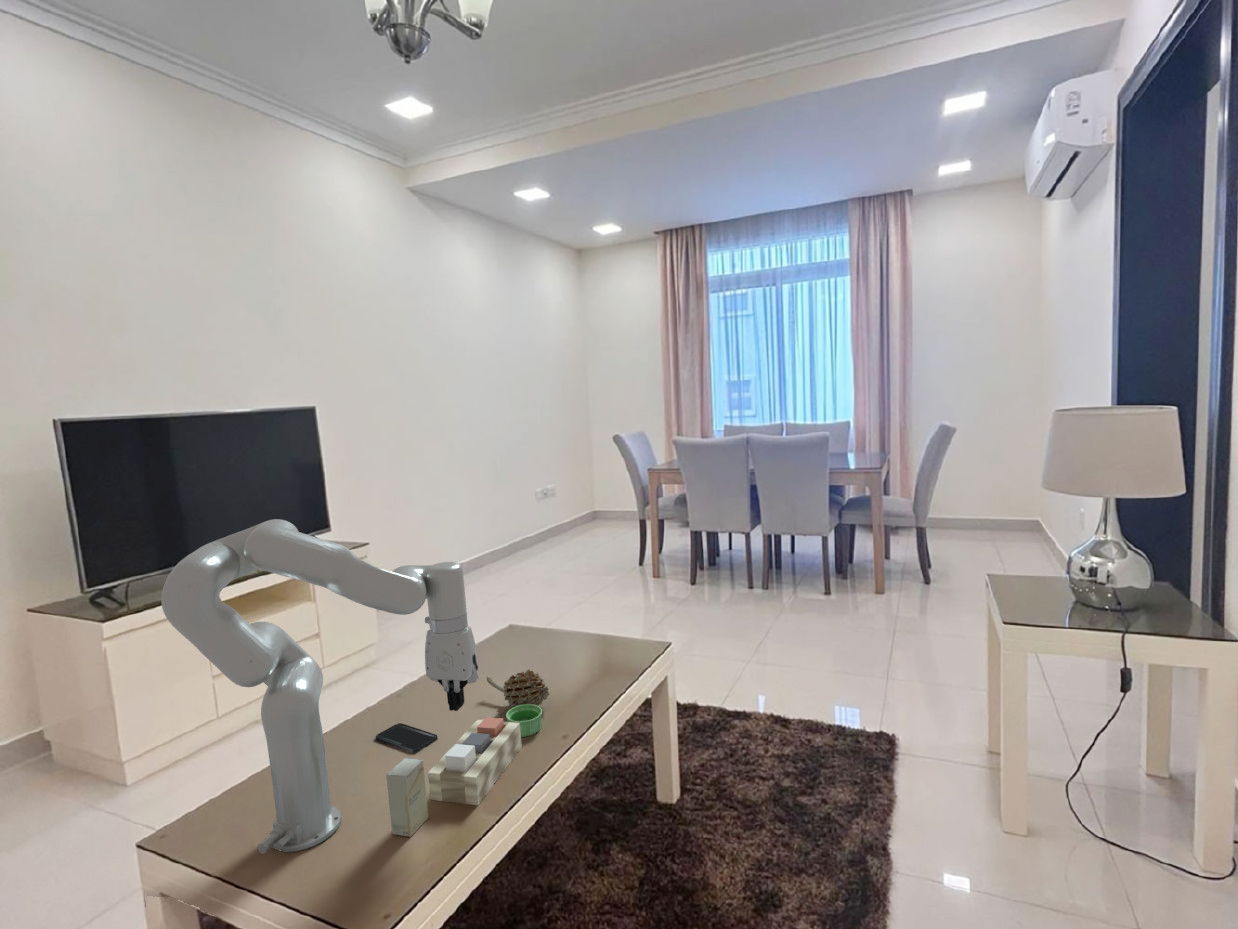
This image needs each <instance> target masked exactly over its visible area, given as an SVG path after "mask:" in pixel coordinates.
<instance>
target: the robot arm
mask: <svg viewBox="0 0 1238 929" xmlns="http://www.w3.org/2000/svg"><path fill="white" fill-rule="evenodd" d="M258 570H261V571H265V572H268V573H272V574H275V575H279V576H282V577H286V578H290V579H294V580H298V581H300V582H303V583H308V584H312V585H313V586H315V585H316V586H318V587H322V588H326V589H327V590H330V591H331V592H333V593H334V594H337V595H339V596H341V597H343V598H346V599H347V600H350V601H351V602H355V603H357V604H360V605H362V606H365V607H368V608H371V609H376V610H379V611H382V612H386V613H391V614H394V615H402V616H403V615H404V616H405V615H410V614H414V613H415V612H417V611H418V610H420V609H421V608H422V607H423V605H424V603H425V602H426V600H427V608H428V616H426V617H425V618H424V623H425V624H429V629H428V630H427V631H426V636H425V642H424V643H425V644H424V664H425V666H424V667H425V674H426V676H427V677H428V678H429V679H430V680H431V681H434V682H436V683H438V684H439V685H440V686H442V687H443V691H444V692H445V693H446V696H447V698H446V699H447V704H448V707H449V708H448V709H449V712H450V711H451V712H453V711H455V712H457V711H458V710H460V709H462V707H463V706H464V704H465V691H464V688H465V687H466V685H468V684H469V685H470V684H474V683H477V681H478V680H479V674H478V671H479V657H478V651H477V647H476V646H477V645H476V641H475V637H474V633H473V631H472V627H471V626H469V623H468V611H467V601H466V600H467V599H466V591H465V580H464V569H463V567H462V565H461V564H460V563H458V562H454V561H445V562H444V561H443V562H438V563H433V564H432V565H431V564H430V565H429V564H428V565H427V564H425V565H423V564H422V565H415V564H414V565H411V564H410V565H402V566H398V567H396V568H394V569H393V570H391V571H389V570H386V569H383V568H380V567H378V566H375V565H373V564H370V563H368V562H367V561H365V560H363V559H361V558H360V557H359V556H357V555H356V554H355V553H354V552H353V551H351V549H350V548H348V547H347V546H345V545H343V544H341V543H340V544H339V543H336V542H333V541H330V540H327V539H322V538H320V537H316V536H313V535H309V534H306V533H304V532H299V529H298V528H297V526H295V525H294V524H293V523H291V522H290V521H288V520H285V519H278V518H275V519H268V520H266V521H263V522H260V523H258V524H256V525H253V526H251V527H249V528H246V529H243V530H241V531H238V532H235V533H232V534H230V535H227V536H225V537H224V536H223V537H222V538H218V539H216V540H214V541H211V542H208V543H207V544H204V545H202V546H200V547H199V548H198V549H196V550H194V551H193V552H191V553H190V554H188V555H186V556H185V557H184V558H182V559H181V560H179V562H177V564H176V565H175V566H174V567H173V569H172V570H170V572H169V574H168V576H167V578H166V579H165V582H164V584H163V587H162V591H161V600H160V601H161V609H162V612H163V614H164V616H165V618H166V619H167V621H168V622H169V624H171V626H172V627H173V628H174V629H175V630H176V631H177V632H178V633H179V634H181V636H183V637H184V638H185V639H187V640H188V641H189V642H190V643H191V644H192V645H193V646H194V647H195V648H196V649H197V650H198V651H199V652H200V653H201V654H202V655H203V656H204V657H205V658H206V659H207V660H208V661H209V662H211V663H212V664H213V665H214V666H215V667H216V668H217V669H218V670H219V671H220V672H221V673H222V674H223V675H224V676H225V678H227V679H228V680H230V681H231V682H232V683H233V684H235V685H237V686H240V687H244V688H254V687H257V686H260V685H261V684H264V685H265V686H267V688H266V690H265V692H264V696H263V698H262V700H261V707H260V716H261V717H260V718H261V724H262V727H263V731H264V736H265V740H266V746H267V752H268V760H269V765H270V766H269V767H270V774H271V782H272V784H271V785H272V791H273V799H274V807H275V808H274V809H275V815H276V820H275V821H274V822H273V823H272V829H271V831H270V834H269V836H268V837H265V838H264V840H262V841H261V842H260V843H259V844H258V845H257V849H258V851H259V853H260V854H265V853H267V852H268V851H269V850H270V849H274V848H276V849H278V850H281V851H284V853H293V852H299V851H303V850H307V849H310V848H312V847H315V846H317V845H318V844H321V843H322V842H324V841H325V840H327V839H328V838H329V837H331V836H332V835H333V834H334V833H335V832H336V831H337V829H338V828H339V827H340V824H341V823H342V814H341V811H340V810H339V809H338V808H337V807H335V806H334V805H332V804H331V803H332V802H331V792H330V784H329V775H328V774H329V773H328V766H327V765H328V764H327V757H326V749H325V743H324V742H325V741H324V733H323V726H322V722H321V717H320V716H321V714H320V706H319V705H320V697H321V693H322V687H323V683H324V682H323V681H324V675H323V671H322V668H321V667H320V664H318V662H317V661H315V659H314V658H313V657H312V656H311V655H310V654H309V653H308V652H307V651H306V649H305V650H304V648H303V647H302V646H300V644H298V643H297V642H296V640H294V639H293V637H291V635H289V634H288V633H287V632H286V630H284V628H281V627H280V626H278V625H277V624H274V623H272V622H268V621H256V622H255V621H254V622H251V623H249V622H248V621H247V620H246V619H245V618H244V617H243V616H242V615H241V614H240V613H239V612H238V611H237V610H236V609H235V608H233V607H232V606H230V605H229V604H227V603H225V602H224V601H222V599H221V596H220V594H221V592H222V591H223V590H224V588H226V587H227V586H228V585H229V584H230V582H232V581H233V580H236V579H238V578H241V577H244V576H246V575H248V574H250V573H251V574H252V573H253V572H256V571H258ZM272 847H273V848H272ZM278 850H277V851H278ZM281 851H280V852H281Z"/></svg>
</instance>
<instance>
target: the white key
mask: <svg viewBox="0 0 1238 929" xmlns="http://www.w3.org/2000/svg"><path fill="white" fill-rule="evenodd" d="M454 744H455V743H454ZM454 744H453V745H454ZM453 745H452V746H453ZM452 746H451V747H452ZM448 751H449V750H448ZM448 751H447V752H448ZM447 752H446V753H447ZM446 753H445V754H446ZM445 754H444V755H445ZM445 761H446V771H455V772H464V773H467V772H468V771H469V769H470V768H471V767H472V766H473V765H474V763H475V762H476V754H475V746H473V745H462V744H455V745H454V746H453V747H452V749H451V750H450V751H449V752H448V753H447V754H446V755H445Z"/></svg>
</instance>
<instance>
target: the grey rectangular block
mask: <svg viewBox="0 0 1238 929" xmlns="http://www.w3.org/2000/svg"><path fill="white" fill-rule="evenodd" d="M490 744H491V740H490V734H481V733H471V734H470V735H469V736H468V738H467V739H466V740H465V741H464V742H463V743H462V745H473V746H475V753H477V754H483V753H484V751H485V750H486V749H487V748H488V747H489V746H490Z"/></svg>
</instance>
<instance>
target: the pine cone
mask: <svg viewBox="0 0 1238 929" xmlns="http://www.w3.org/2000/svg"><path fill="white" fill-rule="evenodd" d="M486 681H487V683H488V684H490V686H492V687H493V688H495V689H497V690H498V691H500V692H501V693H503V697H504V701H508V706H512V707H515V706H519V705H524V704H533V705H537V706H539V707H540V705H542V703H544V702H543V701H546V700H547V699H548V697H549V696H550V693H549V692H550V691H548V690H549V686H548V685H546V682H544V681H545V678H542V676H541V675H539V673H538V672H536V673H534V671H533V670H530V669H526V671H521V672H518V673H516V674H515V675H514V674H512V675H511V676H510V677H508V679H507V680H505V681H504V683H503V684H504V685H503V686H501V685H500V684H499V683H497V682H496V681H495V680H494V679H493V677H491V675H488V674H487V675H486Z"/></svg>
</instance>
